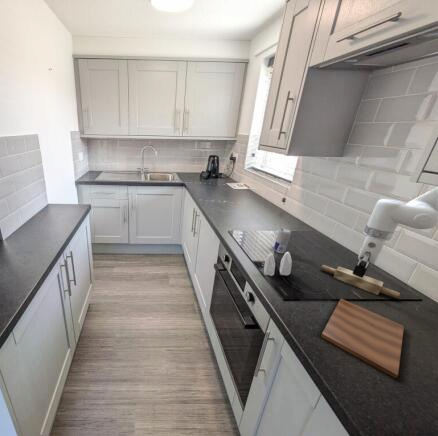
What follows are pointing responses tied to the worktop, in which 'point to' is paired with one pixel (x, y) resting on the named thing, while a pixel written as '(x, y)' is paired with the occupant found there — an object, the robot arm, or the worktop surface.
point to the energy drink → (282, 240)
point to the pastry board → (366, 336)
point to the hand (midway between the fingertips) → (359, 271)
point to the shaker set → (284, 266)
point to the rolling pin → (360, 281)
